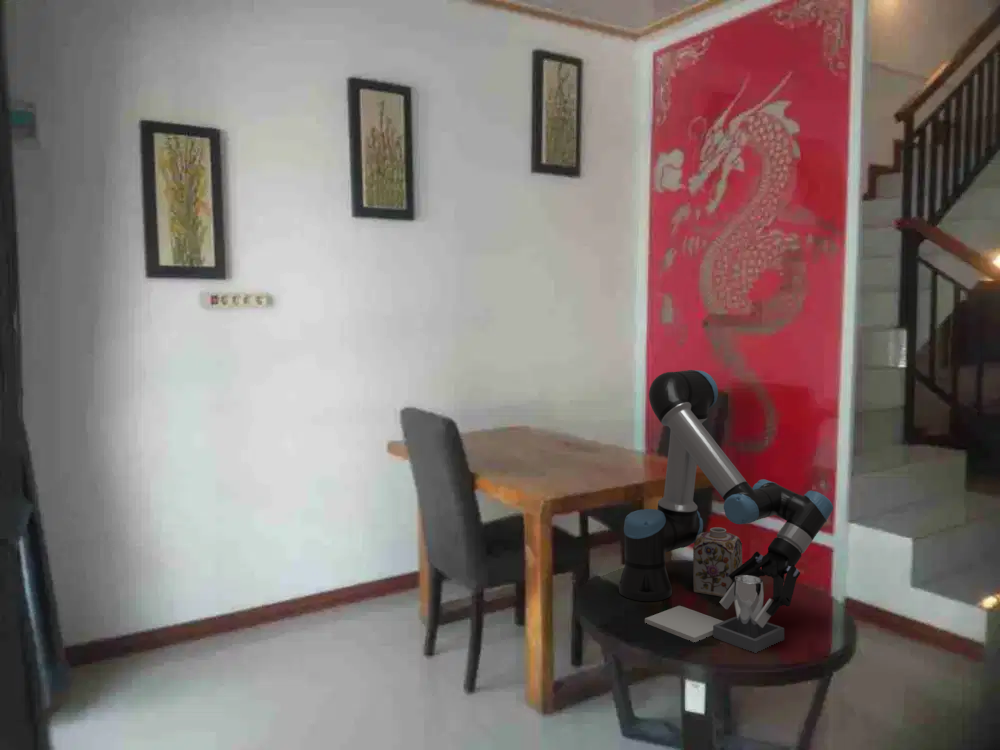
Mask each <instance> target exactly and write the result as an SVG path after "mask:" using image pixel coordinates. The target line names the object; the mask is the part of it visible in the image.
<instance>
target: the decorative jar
mask: <svg viewBox="0 0 1000 750" xmlns="http://www.w3.org/2000/svg"><path fill="white" fill-rule="evenodd" d="M692 550H693V551H692V552H693V554H692V555H693V556H692V557H693V558H692V560H693V561H692V562H693V563H692V564H693V567H692V569H693V570H692V572H693V573H692V574H693V576H692V577H693V580H692V581H693V582H692V583H693V592H694V593H698V594H702V595H709V596H716V597H721V598H723V597H724V595H725V594H726V590H727V589H728V587H729V586H730V585H731V583H732V580H731V578H730V577H729V575H730V574H731V573H732V572H733V571H735V570H736V569H737V568H739V567H740V566H741V565H742V564H743V542H742V540H741V539H740V537H739V536H737V535H735V534H733V533H730V532H727V529H726V528H724V527H711V528H710V529H709V531H705V532H704V531H702V533H700V534H699V535H698V536H697V538H696V541H695V543H693V547H692ZM735 577H736V576H735Z"/></svg>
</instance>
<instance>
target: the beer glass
mask: <svg viewBox="0 0 1000 750" xmlns="http://www.w3.org/2000/svg"><path fill="white" fill-rule="evenodd" d="M763 581H764V580H763V579H762V578H761V577H756V576H752V575H739V576H736V577H735V583H734V601H733V604H734V610H735V614H736V615H735V616H737V630H735V632H737V633H740V634H743V635H746V636H748V637H751V638H754V639H755V638H757V637H759V636H761V635H762V634H761V633H760V626H759V625H758V624H757V623H756V622H755V621H754V620H755V618H756V617H757V616H758V614H759V613H760V611H761V610H762V608H763V607H764V583H763Z"/></svg>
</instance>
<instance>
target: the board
mask: <svg viewBox="0 0 1000 750" xmlns="http://www.w3.org/2000/svg"><path fill="white" fill-rule="evenodd" d="M723 621H724V620H721V619H718V618H715V617H713V616H710V615H707V614H704V613H701V612H699V611H697V610H694V609H691V608H687V607H685V606H681V605H677V606H675V607H672V608H669V609H667V610H664V611H661V612H659V613H656V614H654V615H653V614H652V615H650V616H648V617H647V616H646V617H645V618H644V624H646V623H647V624H646V625H648V626H649V625H650V626H652V627H654V628H656V629H659V630H661V631H665V632H666V633H669V634H672V635H674V636H676V637H679V638H682V639H684V640H686V641H689V640H690V642H692V643H694V642H695V643H697V642H700V641H702V640H704V639H707V638H709V637H711V636H713V625H716V624H718V623H721V622H723ZM706 637H707V638H706ZM699 640H700V641H699Z"/></svg>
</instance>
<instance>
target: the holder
mask: <svg viewBox="0 0 1000 750" xmlns="http://www.w3.org/2000/svg"><path fill="white" fill-rule="evenodd" d="M722 621H723V622H721V623H718V624H716V625H713V635H712V638H713V637H714V639H717V640H719V641H722V642H724V643H727V644H730V645H732V646H734V647H736V648H739V649H742V648H743V649H742V650H745V649H746V650H745V651H748V650H749V651H748V652H750V651H752V652H751V653H753V652H754V653H753V654H755V653H756V654H757V652H758V651H760V652H762V651H764V650H766V649H768V648H770V647H772V646H771V645H773V646H775V645H777V644H779V643H781V642H783V641H785V627H782V626H780V625H777V624H774V623H771V622H769V621H767V623H766V624H765V625H764V627H763V628H762V627H760V633H761V636H759V637H757V638H755V639H754V638H751V637H748V636H746V635H743V634H740V633H737V632H736V631H737V616H736V615H735V616H733V617H731V618H728V619H726V620H722ZM780 641H781V642H780ZM778 642H779V643H778ZM776 643H777V644H776ZM774 644H775V645H774ZM769 646H770V647H769ZM767 647H768V648H767ZM765 648H766V649H765ZM763 649H764V650H763ZM761 650H762V651H761ZM758 653H759V652H758Z"/></svg>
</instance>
